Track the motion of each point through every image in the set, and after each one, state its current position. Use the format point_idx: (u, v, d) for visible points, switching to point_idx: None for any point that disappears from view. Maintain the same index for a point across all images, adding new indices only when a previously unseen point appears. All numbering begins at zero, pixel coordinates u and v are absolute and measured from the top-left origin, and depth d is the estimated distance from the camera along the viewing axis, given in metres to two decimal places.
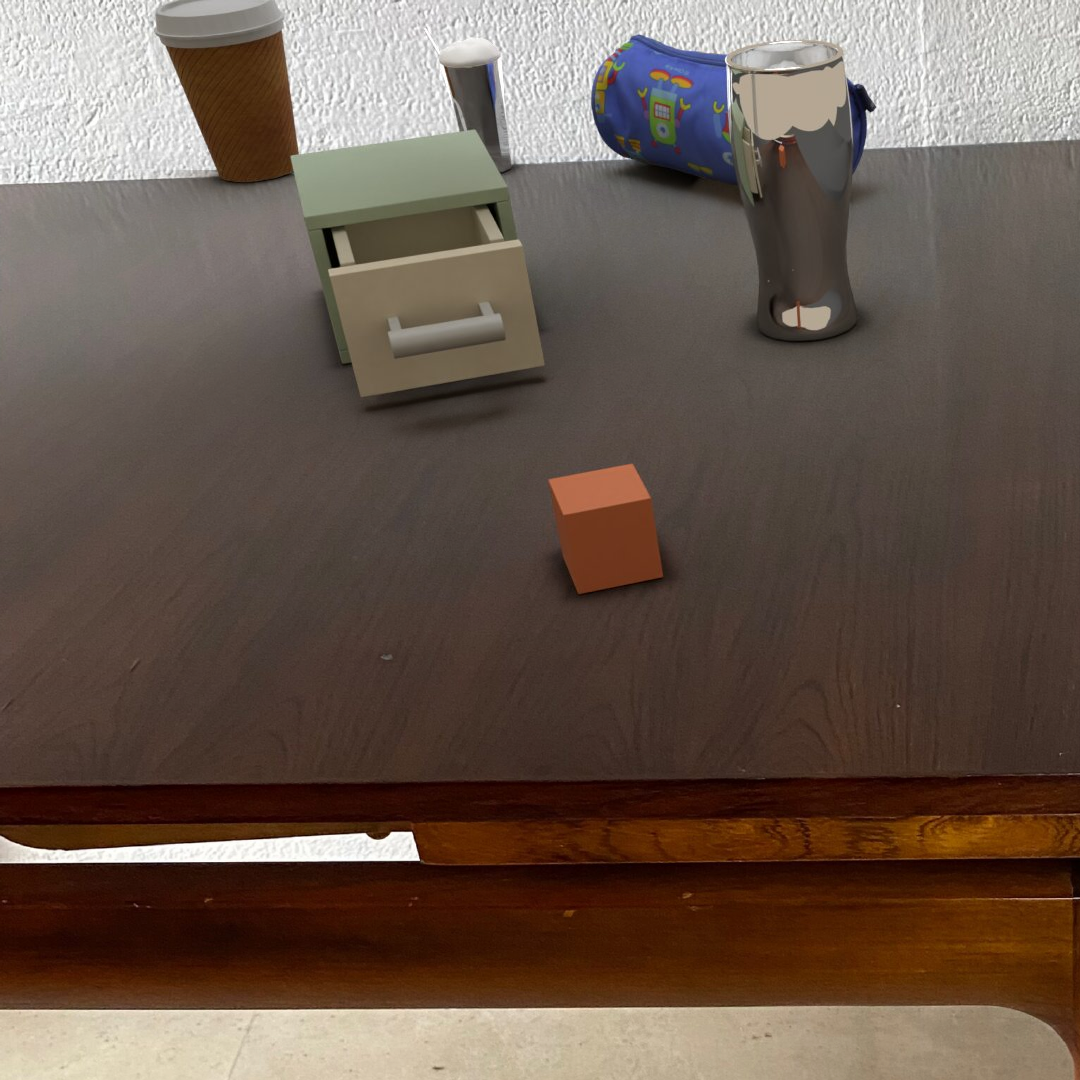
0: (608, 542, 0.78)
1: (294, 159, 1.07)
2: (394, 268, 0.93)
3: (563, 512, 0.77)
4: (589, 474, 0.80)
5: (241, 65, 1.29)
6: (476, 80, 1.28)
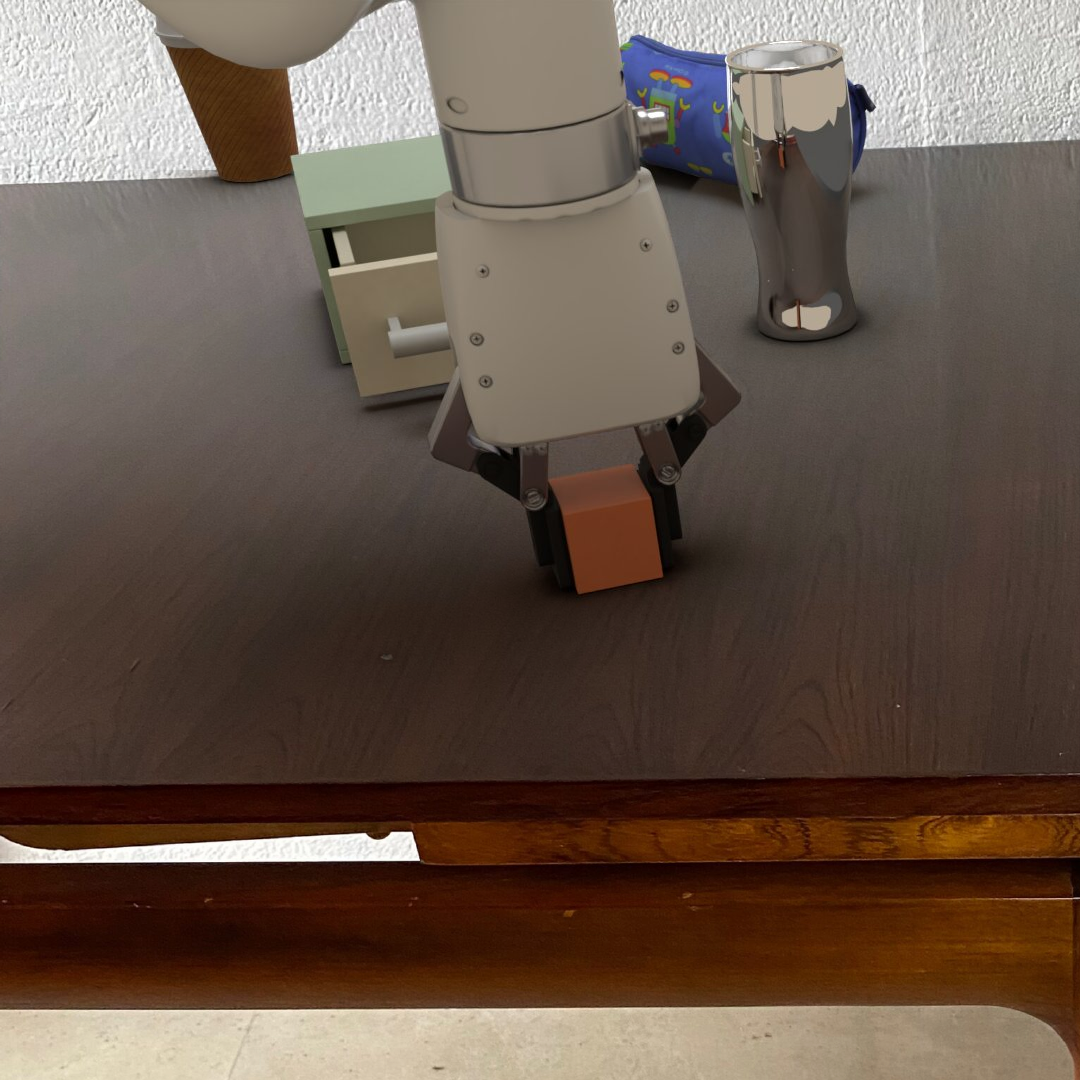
0: (608, 542, 0.78)
1: (294, 159, 1.07)
2: (394, 268, 0.93)
3: (563, 512, 0.77)
4: (589, 474, 0.80)
5: (241, 65, 1.29)
6: None
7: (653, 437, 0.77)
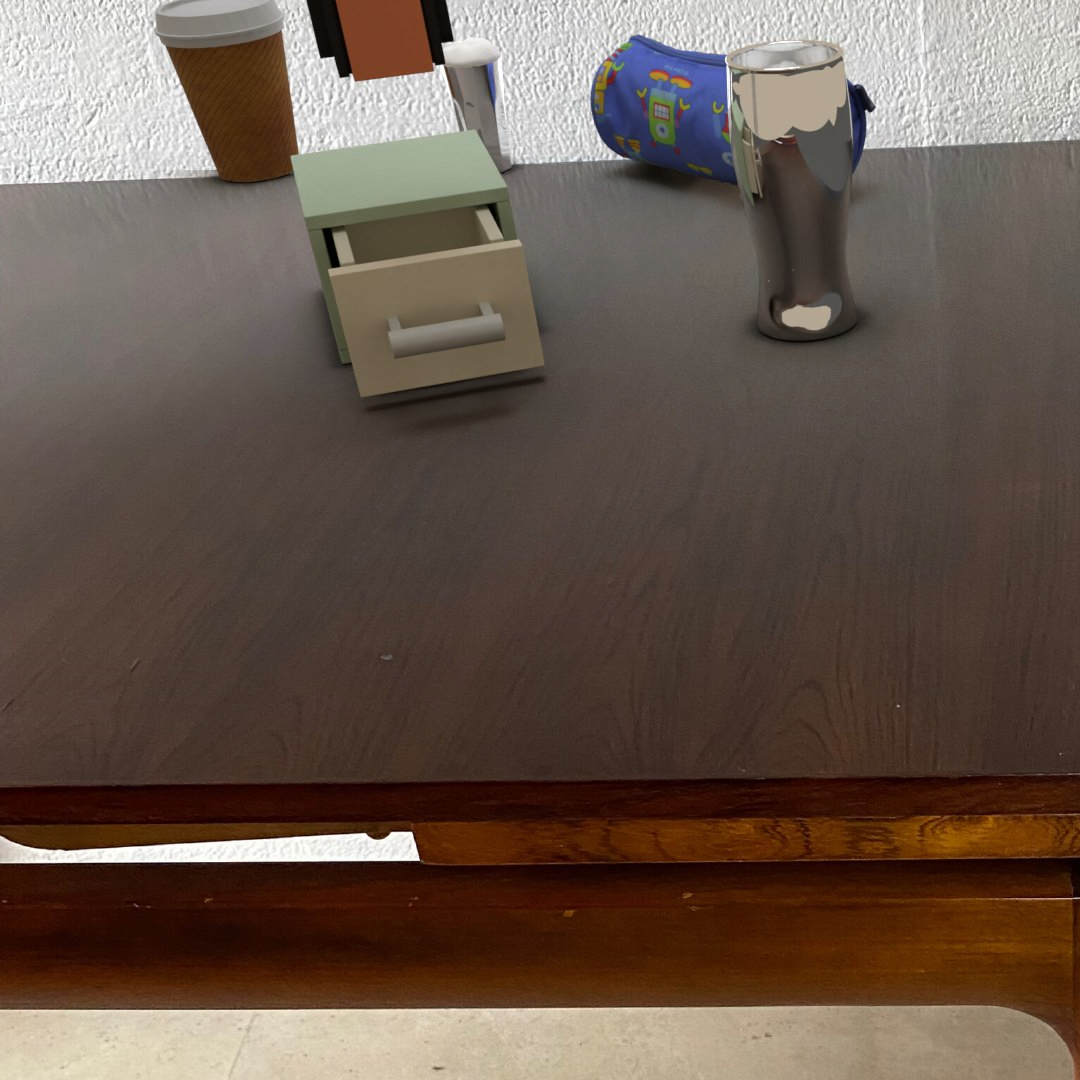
0: (379, 28, 0.86)
1: (294, 159, 1.07)
2: (394, 268, 0.93)
3: None
4: None
5: (241, 65, 1.29)
6: (476, 80, 1.28)
7: None
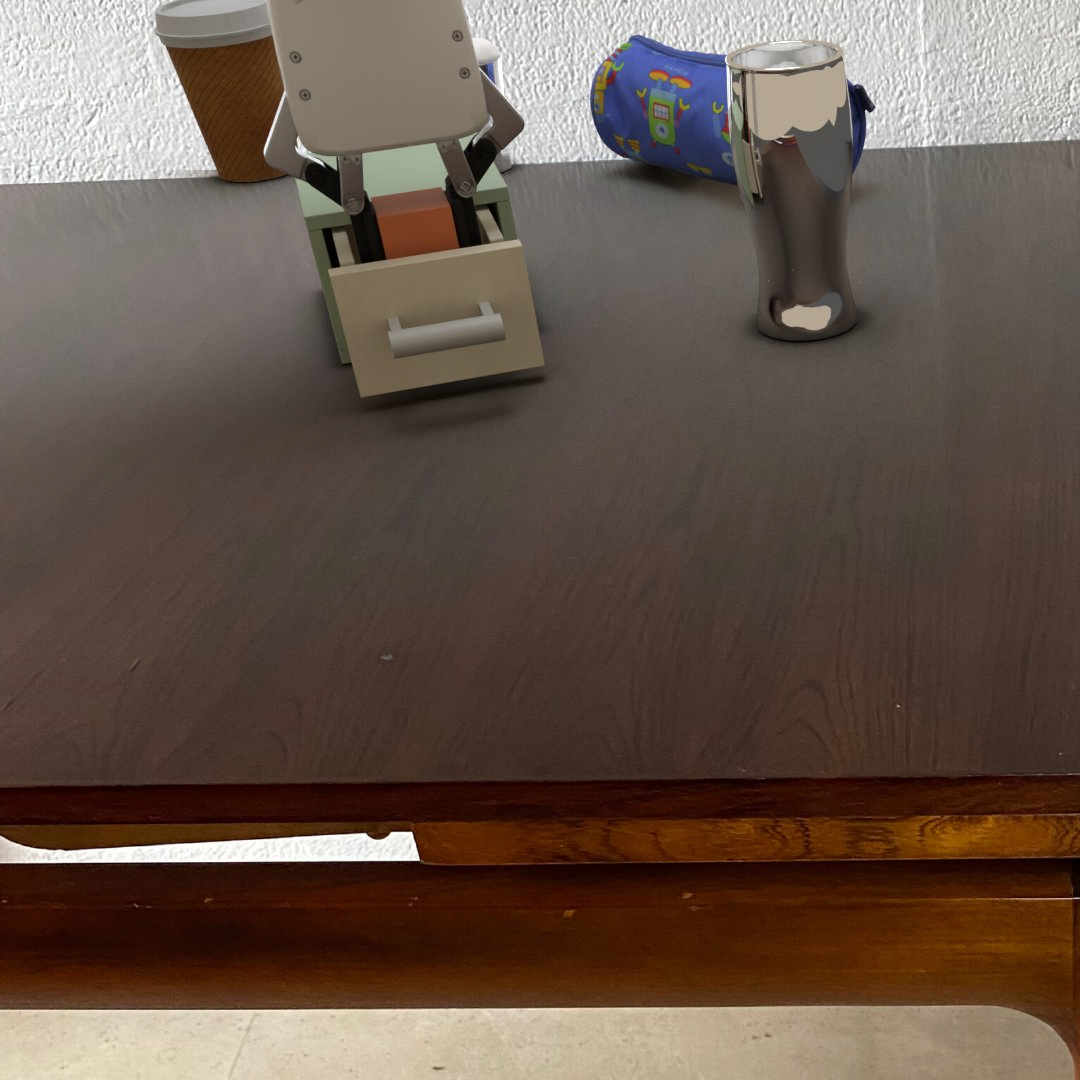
0: (417, 244, 0.95)
1: None
2: (394, 268, 0.93)
3: (377, 216, 0.94)
4: (404, 194, 0.97)
5: (241, 65, 1.29)
6: None
7: (450, 154, 0.94)
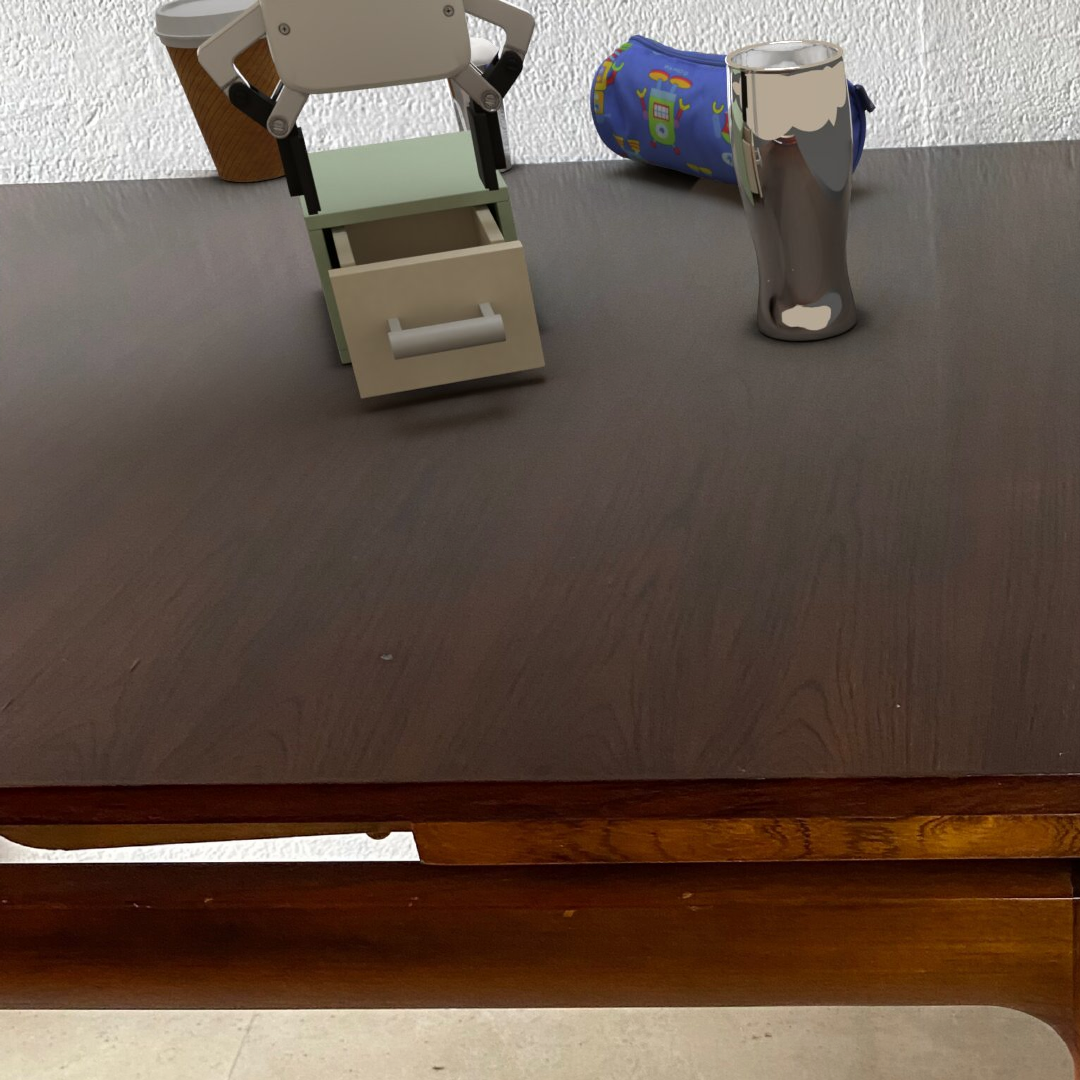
0: None
1: None
2: (394, 269, 0.93)
3: None
4: None
5: (241, 65, 1.29)
6: None
7: (462, 76, 0.92)
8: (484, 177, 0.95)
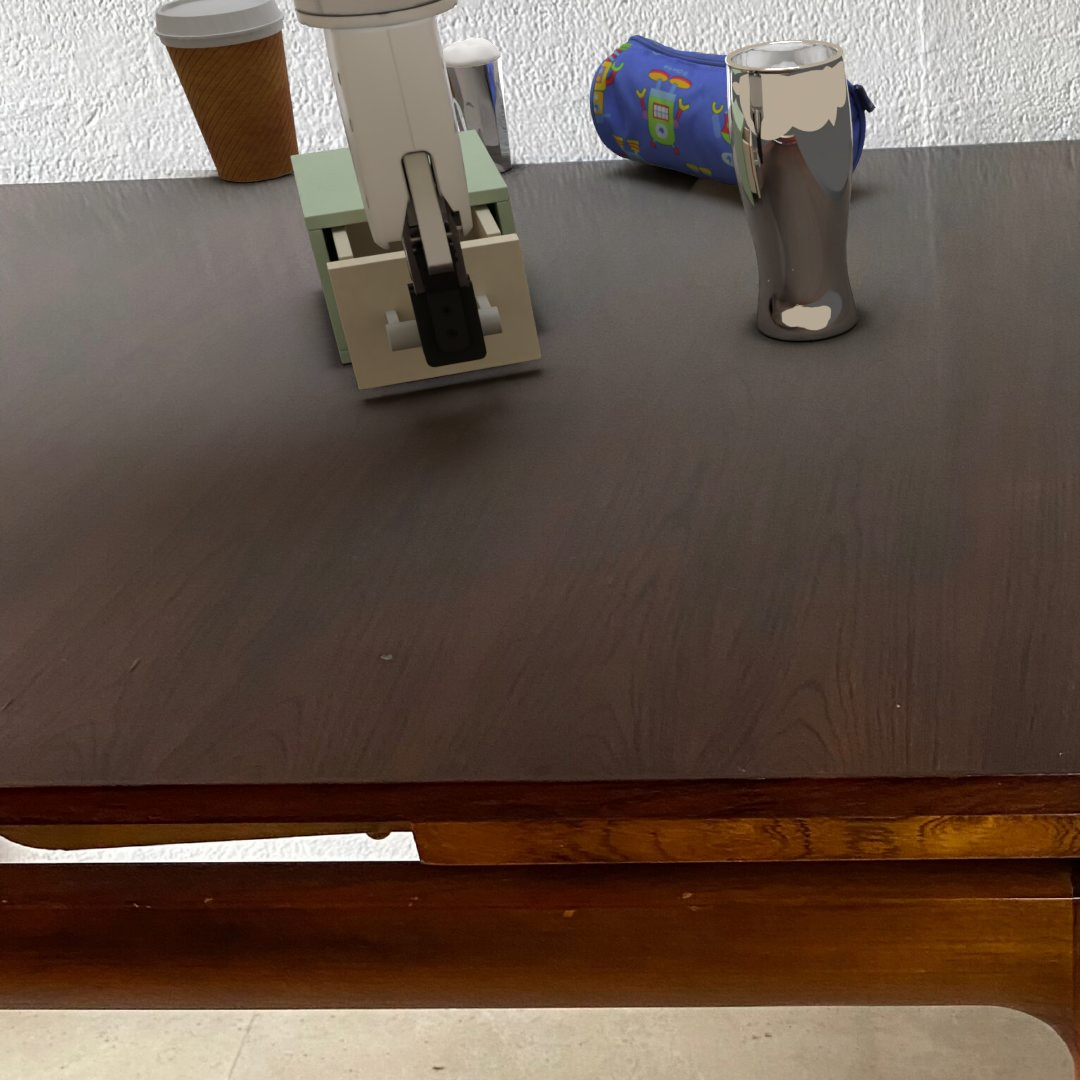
0: None
1: (294, 159, 1.07)
2: (392, 262, 0.94)
3: None
4: None
5: (241, 65, 1.29)
6: (476, 80, 1.28)
7: None
8: None
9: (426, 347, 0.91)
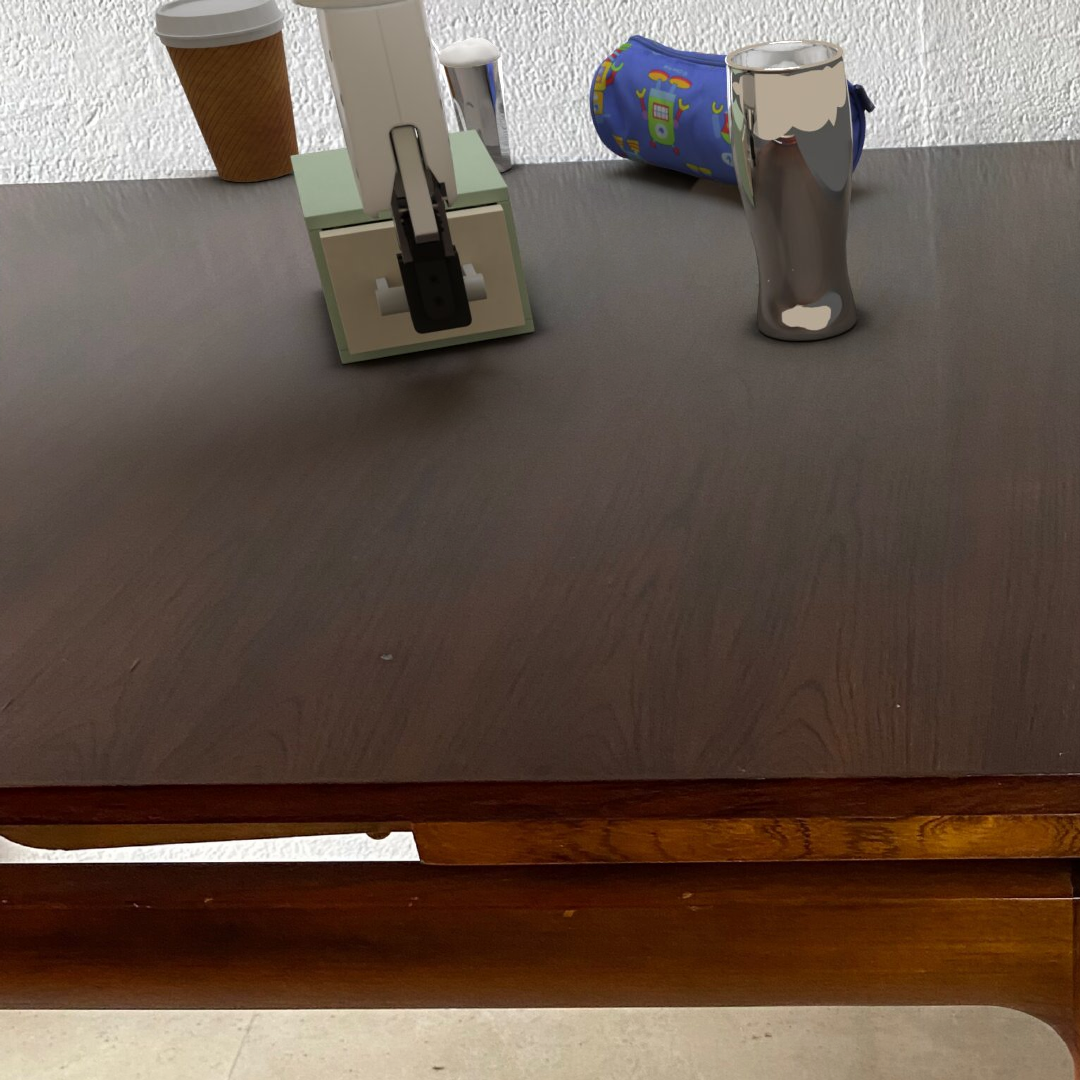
0: None
1: (294, 159, 1.07)
2: (381, 231, 0.98)
3: None
4: None
5: (241, 65, 1.29)
6: (476, 80, 1.28)
7: None
8: None
9: (414, 314, 0.95)
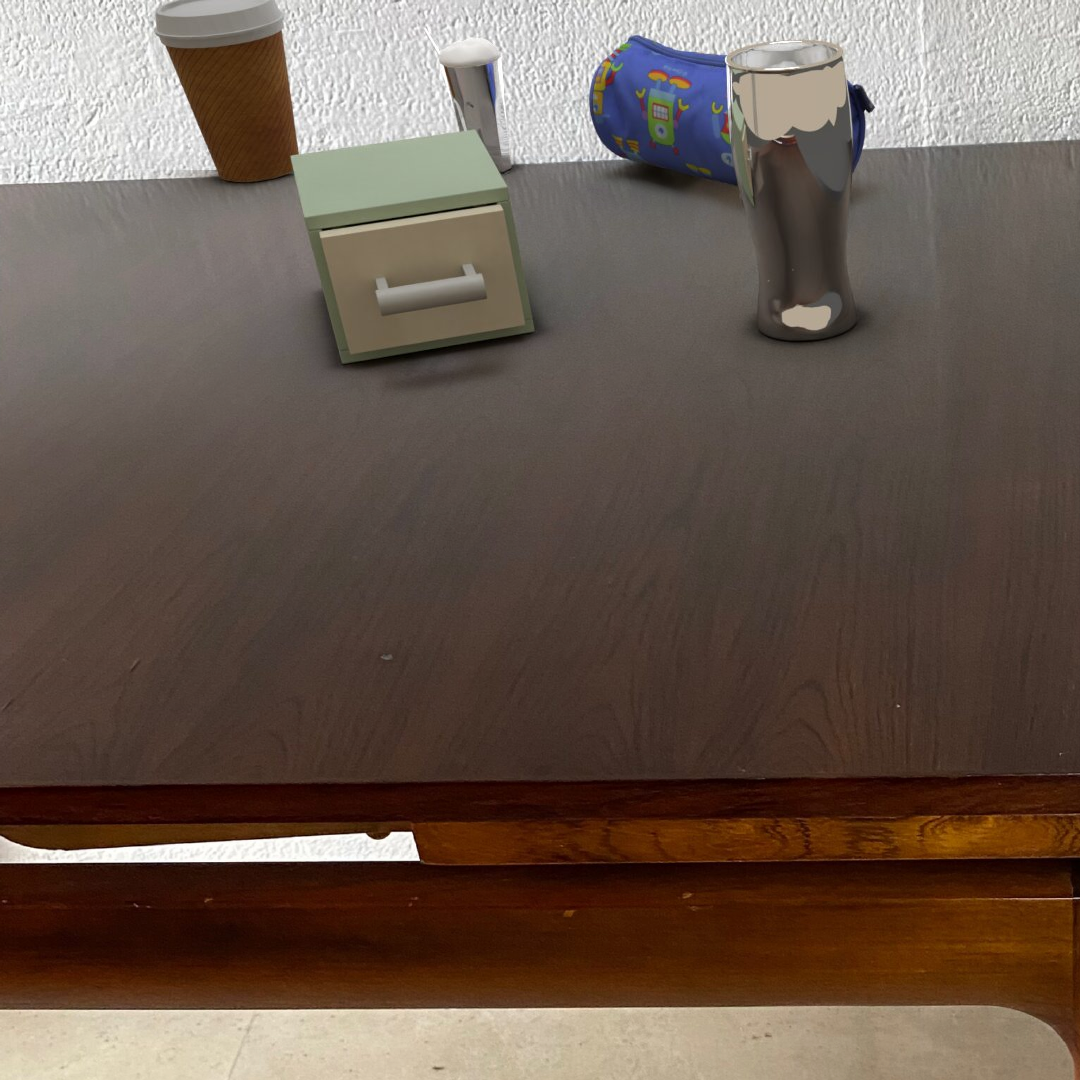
0: None
1: (294, 159, 1.07)
2: (381, 231, 0.98)
3: None
4: None
5: (241, 65, 1.29)
6: (476, 80, 1.28)
7: None
8: None
9: None
